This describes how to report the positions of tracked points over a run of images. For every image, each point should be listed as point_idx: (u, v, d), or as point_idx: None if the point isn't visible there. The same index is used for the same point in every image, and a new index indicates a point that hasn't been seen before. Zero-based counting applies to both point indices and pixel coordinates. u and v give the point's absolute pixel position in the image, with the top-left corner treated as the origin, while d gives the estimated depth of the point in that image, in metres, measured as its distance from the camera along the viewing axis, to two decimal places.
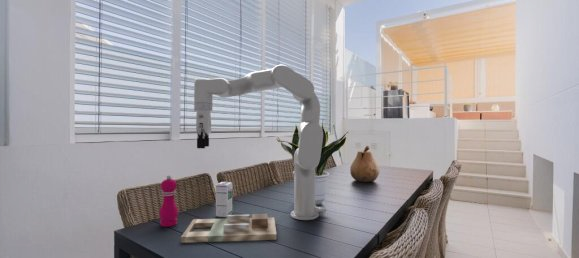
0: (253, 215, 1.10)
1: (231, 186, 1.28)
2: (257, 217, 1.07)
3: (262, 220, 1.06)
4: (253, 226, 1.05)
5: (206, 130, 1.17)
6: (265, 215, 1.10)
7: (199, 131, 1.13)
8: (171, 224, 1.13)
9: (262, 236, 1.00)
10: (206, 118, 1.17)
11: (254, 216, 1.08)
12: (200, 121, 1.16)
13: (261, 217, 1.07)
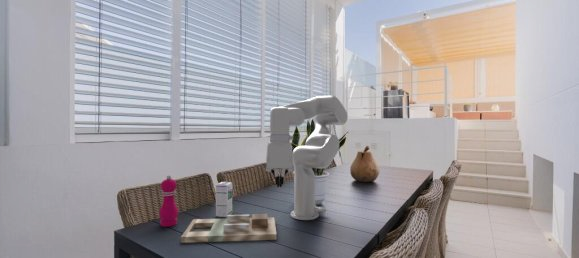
0: (253, 215, 1.10)
1: (231, 186, 1.28)
2: (257, 217, 1.07)
3: (262, 220, 1.06)
4: (253, 226, 1.05)
5: None
6: (265, 215, 1.10)
7: None
8: (171, 224, 1.13)
9: (262, 236, 1.00)
10: None
11: (254, 216, 1.08)
12: None
13: (261, 217, 1.07)
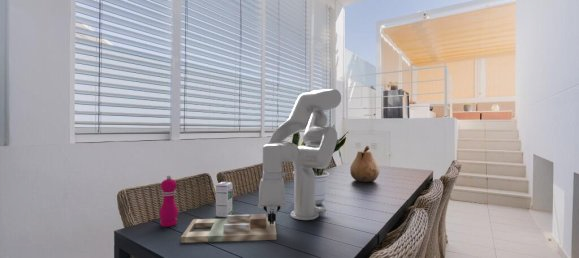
0: (252, 215, 1.10)
1: (231, 186, 1.28)
2: (256, 217, 1.07)
3: (261, 220, 1.06)
4: (252, 226, 1.05)
5: None
6: (264, 215, 1.10)
7: None
8: (171, 224, 1.13)
9: (262, 236, 1.00)
10: None
11: (252, 216, 1.08)
12: None
13: (260, 217, 1.07)
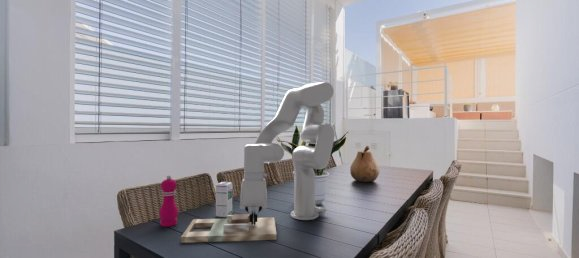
0: (233, 215, 1.09)
1: (231, 186, 1.28)
2: (237, 217, 1.07)
3: (242, 220, 1.05)
4: None
5: None
6: (246, 215, 1.09)
7: None
8: (171, 224, 1.13)
9: (262, 236, 1.00)
10: None
11: (234, 217, 1.07)
12: None
13: (241, 217, 1.07)
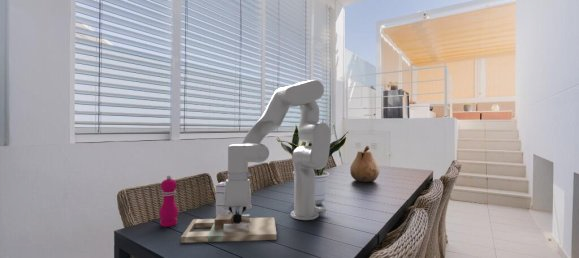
0: (218, 215, 1.09)
1: None
2: (221, 217, 1.06)
3: (225, 221, 1.05)
4: (216, 226, 1.05)
5: None
6: (230, 215, 1.09)
7: None
8: (171, 224, 1.13)
9: (262, 236, 1.00)
10: None
11: (218, 217, 1.07)
12: None
13: (225, 217, 1.06)
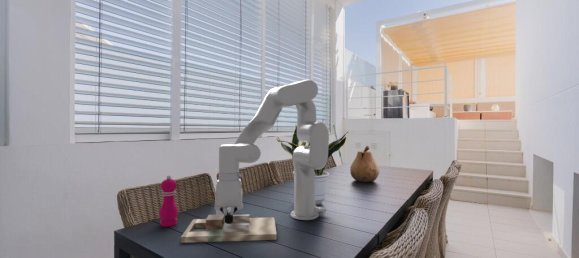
0: (209, 216, 1.08)
1: None
2: (212, 218, 1.06)
3: (216, 221, 1.04)
4: (207, 227, 1.04)
5: None
6: (221, 216, 1.08)
7: None
8: (171, 224, 1.13)
9: (262, 236, 1.00)
10: None
11: (209, 217, 1.07)
12: (242, 195, 1.07)
13: (216, 218, 1.06)
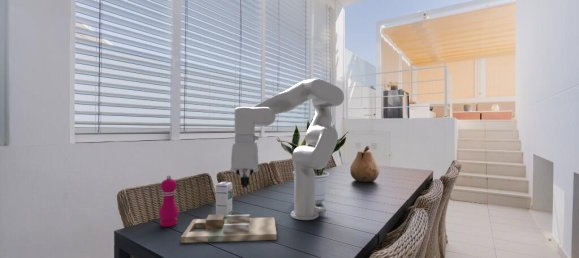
0: (209, 216, 1.08)
1: (231, 186, 1.28)
2: (212, 218, 1.06)
3: (216, 221, 1.04)
4: (207, 227, 1.04)
5: None
6: (221, 216, 1.08)
7: None
8: (171, 224, 1.13)
9: (262, 236, 1.00)
10: None
11: (209, 217, 1.07)
12: None
13: (216, 218, 1.06)
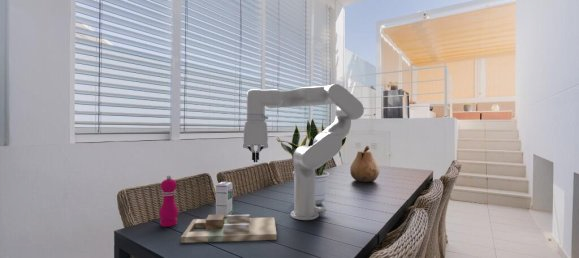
0: (209, 216, 1.08)
1: (231, 186, 1.28)
2: (212, 218, 1.06)
3: (216, 221, 1.04)
4: (207, 227, 1.04)
5: None
6: (221, 216, 1.08)
7: None
8: (171, 224, 1.13)
9: (262, 236, 1.00)
10: None
11: (209, 217, 1.07)
12: (267, 136, 1.20)
13: (216, 218, 1.06)
